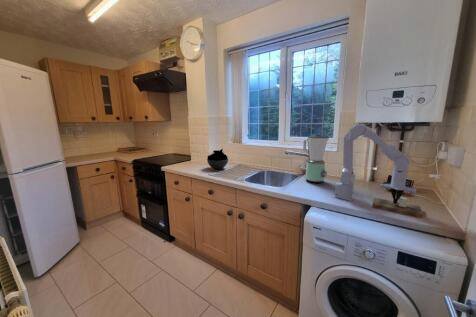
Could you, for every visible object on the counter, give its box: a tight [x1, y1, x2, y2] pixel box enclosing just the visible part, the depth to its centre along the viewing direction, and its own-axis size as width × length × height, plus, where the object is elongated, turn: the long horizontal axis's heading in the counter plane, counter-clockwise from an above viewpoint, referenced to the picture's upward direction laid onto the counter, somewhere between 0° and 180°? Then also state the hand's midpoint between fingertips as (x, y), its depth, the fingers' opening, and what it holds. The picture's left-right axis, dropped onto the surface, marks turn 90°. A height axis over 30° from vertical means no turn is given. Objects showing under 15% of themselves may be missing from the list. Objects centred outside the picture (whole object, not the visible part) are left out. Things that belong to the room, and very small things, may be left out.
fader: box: [397, 196, 408, 207], centre depth 103 cm, size 3×5×4 cm, turn 142°
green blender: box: [302, 134, 330, 185], centre depth 149 cm, size 19×13×35 cm
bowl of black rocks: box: [206, 148, 229, 170], centre depth 189 cm, size 20×20×19 cm
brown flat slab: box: [371, 197, 424, 219], centre depth 105 cm, size 20×11×2 cm, turn 52°
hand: (394, 203), depth 105 cm, fingers closed
